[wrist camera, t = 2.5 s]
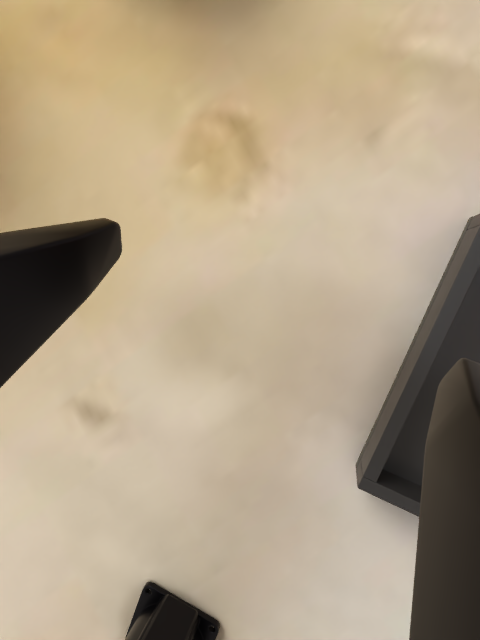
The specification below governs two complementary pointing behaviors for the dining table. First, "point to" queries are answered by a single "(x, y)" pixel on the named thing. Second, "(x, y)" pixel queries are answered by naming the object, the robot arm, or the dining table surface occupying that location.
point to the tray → (424, 380)
